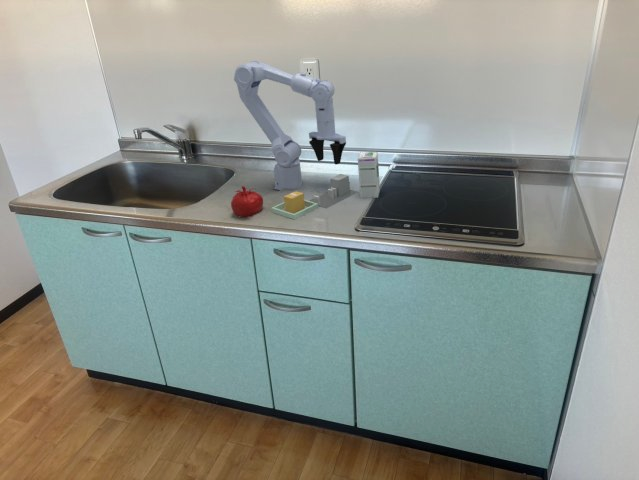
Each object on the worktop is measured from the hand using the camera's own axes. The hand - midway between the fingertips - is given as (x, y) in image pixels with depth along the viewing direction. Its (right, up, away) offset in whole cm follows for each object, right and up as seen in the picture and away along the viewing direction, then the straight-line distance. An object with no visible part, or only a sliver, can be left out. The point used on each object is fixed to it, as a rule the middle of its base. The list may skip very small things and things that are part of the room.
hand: (328, 161), depth 162 cm
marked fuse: (-11, -17, -11) cm, 23 cm away
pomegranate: (-25, -18, -8) cm, 32 cm away
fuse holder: (+1, -13, -5) cm, 14 cm away
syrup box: (+13, -13, -5) cm, 19 cm away
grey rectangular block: (+4, -11, -3) cm, 12 cm away
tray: (-11, -18, -11) cm, 24 cm away
